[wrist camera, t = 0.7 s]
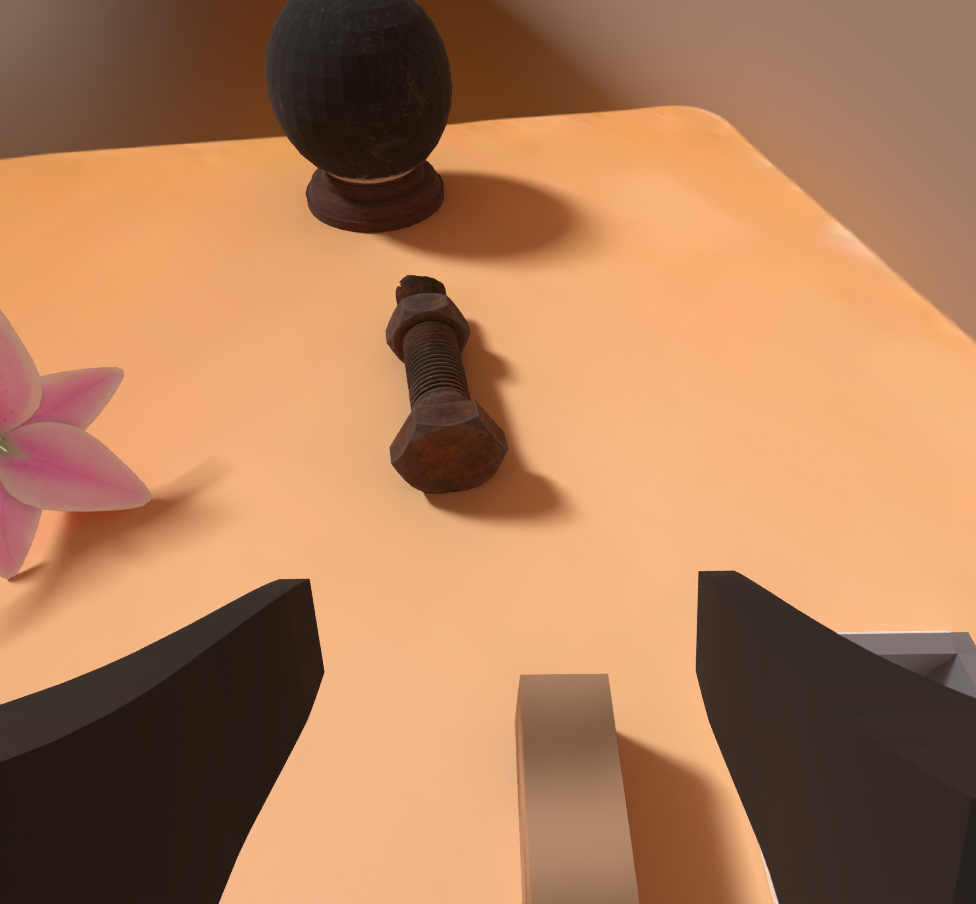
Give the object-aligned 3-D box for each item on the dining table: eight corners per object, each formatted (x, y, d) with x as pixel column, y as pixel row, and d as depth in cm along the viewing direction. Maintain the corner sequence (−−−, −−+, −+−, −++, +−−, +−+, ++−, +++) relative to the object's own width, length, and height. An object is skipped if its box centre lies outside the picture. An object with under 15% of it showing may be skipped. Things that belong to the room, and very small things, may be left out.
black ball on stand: (427, 150, 58) (413, -57, 46) (479, 220, 50) (477, -9, 38) (282, 174, 55) (229, -41, 43) (313, 253, 47) (257, 15, 35)
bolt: (435, 336, 44) (468, 507, 34) (366, 312, 41) (380, 488, 31) (475, 267, 40) (525, 434, 30) (402, 237, 38) (430, 407, 28)
